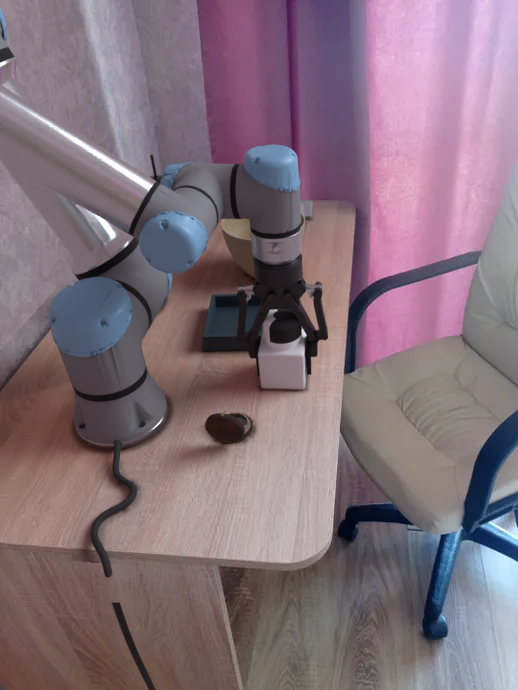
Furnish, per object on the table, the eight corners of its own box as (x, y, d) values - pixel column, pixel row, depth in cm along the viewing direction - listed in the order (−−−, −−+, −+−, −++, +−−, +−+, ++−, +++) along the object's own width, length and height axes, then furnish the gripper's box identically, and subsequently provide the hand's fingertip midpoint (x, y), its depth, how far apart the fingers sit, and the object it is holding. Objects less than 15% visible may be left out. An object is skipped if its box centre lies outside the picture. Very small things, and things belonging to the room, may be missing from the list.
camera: (271, 188, 140) (278, 166, 152) (274, 233, 148) (281, 210, 159) (307, 187, 139) (312, 166, 151) (308, 233, 147) (312, 210, 158)
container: (307, 362, 107) (306, 302, 98) (304, 390, 101) (302, 328, 92) (266, 361, 107) (260, 301, 99) (260, 389, 101) (254, 327, 93)
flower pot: (304, 291, 126) (303, 239, 118) (222, 291, 127) (215, 240, 119) (307, 251, 139) (306, 203, 132) (233, 252, 141) (227, 204, 133)
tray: (288, 349, 110) (288, 334, 108) (204, 351, 111) (202, 337, 109) (290, 305, 122) (289, 292, 119) (213, 307, 122) (211, 294, 120)
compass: (256, 417, 96) (253, 384, 91) (245, 452, 90) (241, 418, 85) (210, 413, 97) (204, 379, 93) (196, 447, 91) (189, 413, 87)
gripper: (206, 268, 86) (224, 385, 101) (347, 264, 85) (344, 382, 100) (212, 244, 92) (228, 358, 107) (344, 240, 91) (342, 356, 106)
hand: (284, 370), depth 103 cm, fingers closed on container, 8 cm apart
